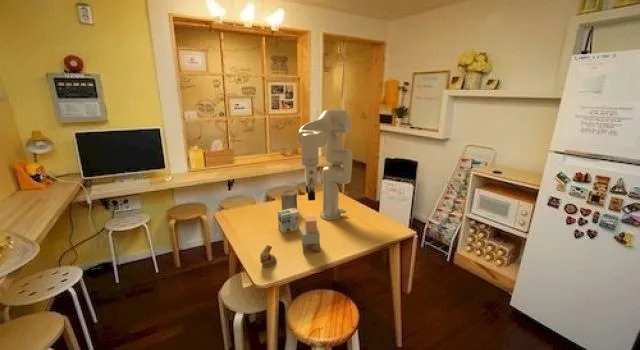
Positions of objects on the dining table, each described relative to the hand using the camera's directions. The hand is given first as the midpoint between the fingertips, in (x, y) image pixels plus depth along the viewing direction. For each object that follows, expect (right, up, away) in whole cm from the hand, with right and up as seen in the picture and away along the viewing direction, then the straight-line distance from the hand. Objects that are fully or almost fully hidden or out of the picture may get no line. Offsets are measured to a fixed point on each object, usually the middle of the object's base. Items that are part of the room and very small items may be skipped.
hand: (310, 196), depth 134 cm
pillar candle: (-15, -14, +48) cm, 53 cm away
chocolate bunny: (-19, -30, -5) cm, 36 cm away
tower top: (0, -22, +6) cm, 23 cm away
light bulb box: (-13, -21, +27) cm, 37 cm away
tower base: (0, -26, +7) cm, 28 cm away
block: (0, -17, +5) cm, 18 cm away
